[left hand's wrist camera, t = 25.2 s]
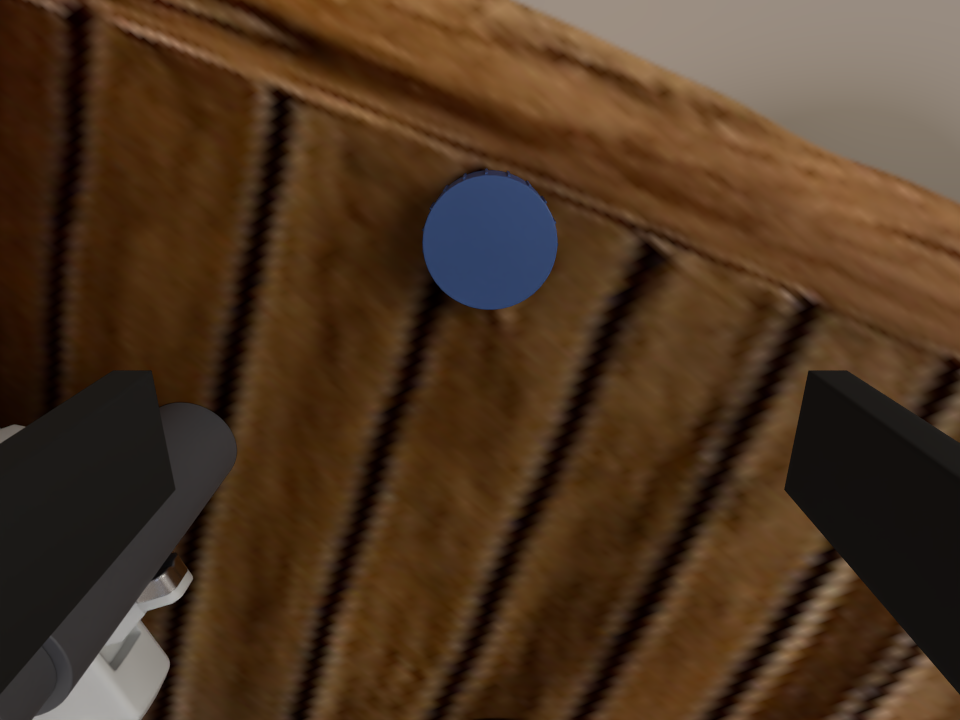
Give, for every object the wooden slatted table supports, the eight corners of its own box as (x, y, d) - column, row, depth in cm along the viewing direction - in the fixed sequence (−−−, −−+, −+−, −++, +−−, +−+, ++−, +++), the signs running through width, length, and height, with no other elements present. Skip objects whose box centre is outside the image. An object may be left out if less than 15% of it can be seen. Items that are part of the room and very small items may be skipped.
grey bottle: (126, 451, 32) (-181, 738, 17) (168, 384, 31) (-129, 634, 16) (209, 499, 33) (-12, 807, 19) (254, 436, 32) (51, 717, 17)
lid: (563, 282, 29) (569, 296, 26) (443, 307, 29) (439, 323, 27) (540, 155, 27) (545, 158, 24) (411, 185, 27) (404, 191, 25)
